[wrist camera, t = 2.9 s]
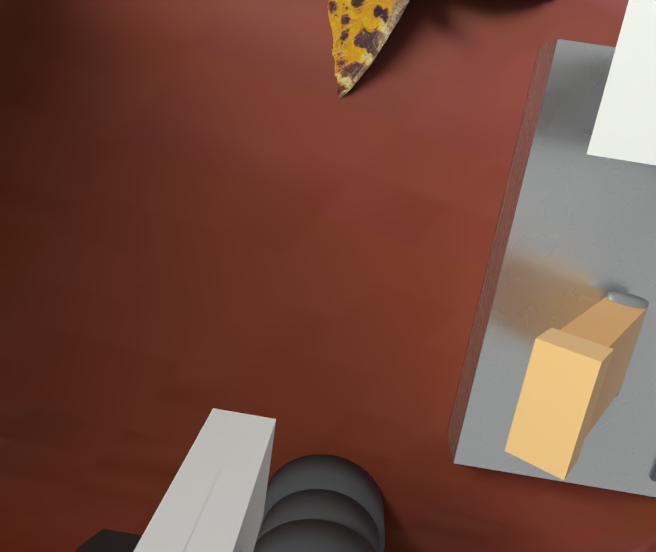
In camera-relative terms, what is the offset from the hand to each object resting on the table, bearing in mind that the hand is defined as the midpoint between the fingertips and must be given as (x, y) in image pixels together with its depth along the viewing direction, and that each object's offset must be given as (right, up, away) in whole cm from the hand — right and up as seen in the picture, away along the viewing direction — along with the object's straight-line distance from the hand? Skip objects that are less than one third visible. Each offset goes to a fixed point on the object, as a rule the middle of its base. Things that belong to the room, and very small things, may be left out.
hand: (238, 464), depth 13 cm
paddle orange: (+16, +2, +12) cm, 20 cm away
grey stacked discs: (+2, -9, +19) cm, 21 cm away
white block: (+17, +11, +9) cm, 22 cm away
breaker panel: (+16, +4, +14) cm, 22 cm away
